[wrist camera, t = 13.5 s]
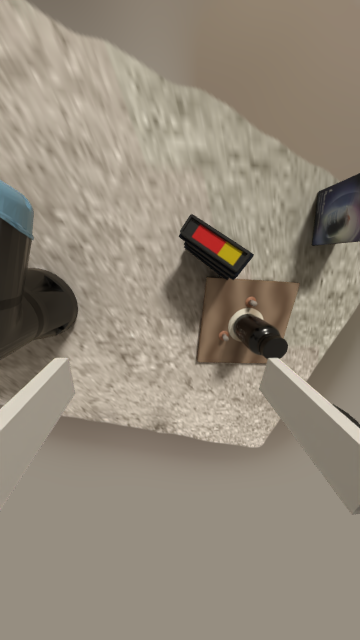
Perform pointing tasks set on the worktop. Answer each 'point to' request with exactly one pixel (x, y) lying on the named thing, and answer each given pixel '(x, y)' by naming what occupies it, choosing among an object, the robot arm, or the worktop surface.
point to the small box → (338, 213)
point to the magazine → (214, 248)
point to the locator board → (232, 302)
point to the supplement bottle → (260, 336)
